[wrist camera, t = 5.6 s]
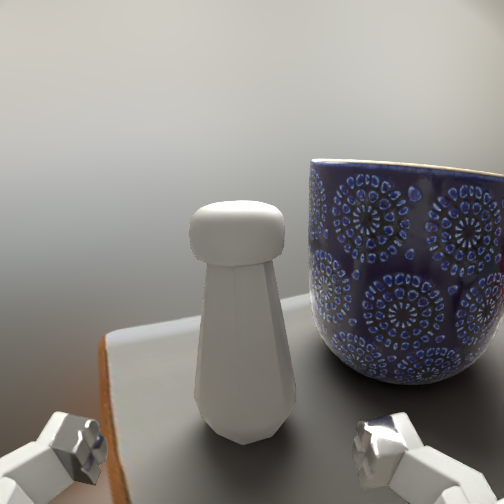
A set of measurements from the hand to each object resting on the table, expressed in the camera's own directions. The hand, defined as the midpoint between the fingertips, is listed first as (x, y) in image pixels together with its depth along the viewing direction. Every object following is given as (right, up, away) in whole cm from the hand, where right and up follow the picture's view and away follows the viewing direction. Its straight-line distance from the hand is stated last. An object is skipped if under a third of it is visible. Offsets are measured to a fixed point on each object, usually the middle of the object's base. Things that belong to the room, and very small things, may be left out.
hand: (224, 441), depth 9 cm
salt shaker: (+1, -5, +10) cm, 11 cm away
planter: (+13, -3, +16) cm, 21 cm away
